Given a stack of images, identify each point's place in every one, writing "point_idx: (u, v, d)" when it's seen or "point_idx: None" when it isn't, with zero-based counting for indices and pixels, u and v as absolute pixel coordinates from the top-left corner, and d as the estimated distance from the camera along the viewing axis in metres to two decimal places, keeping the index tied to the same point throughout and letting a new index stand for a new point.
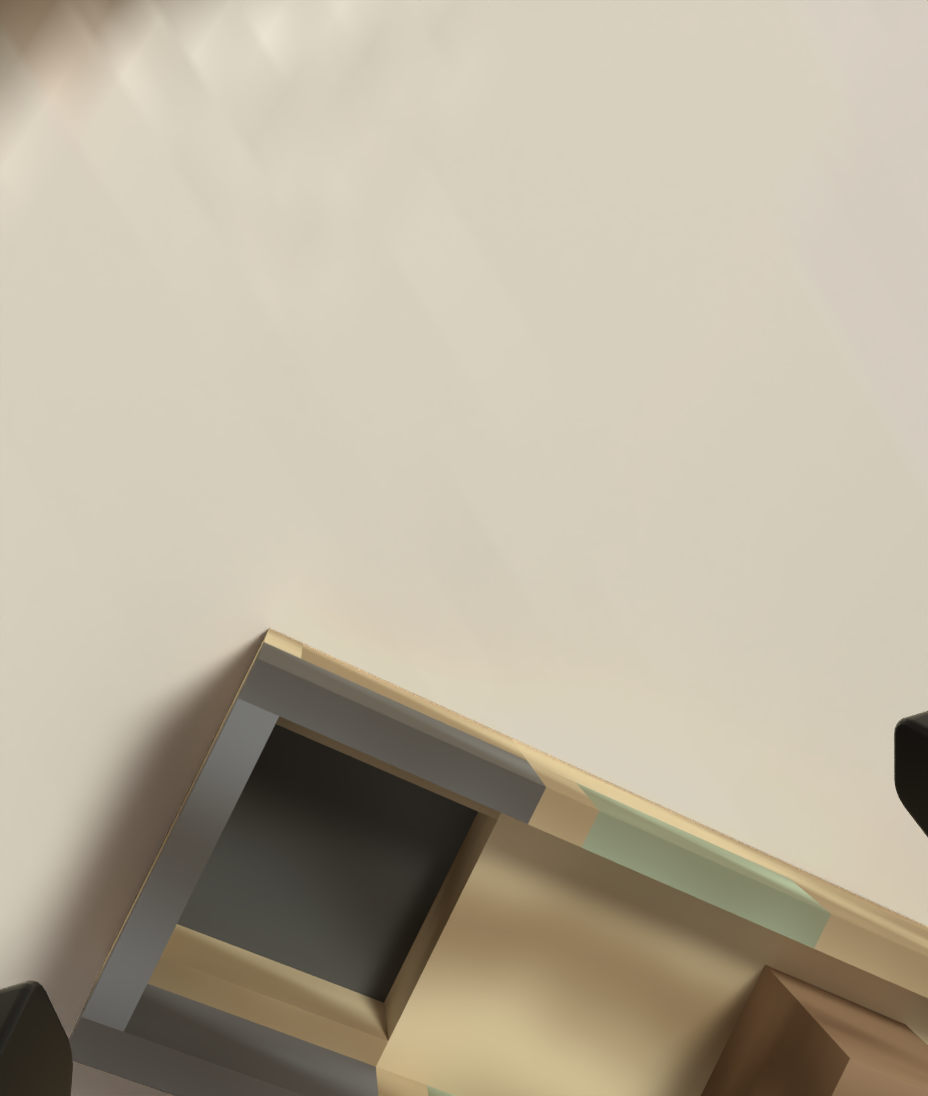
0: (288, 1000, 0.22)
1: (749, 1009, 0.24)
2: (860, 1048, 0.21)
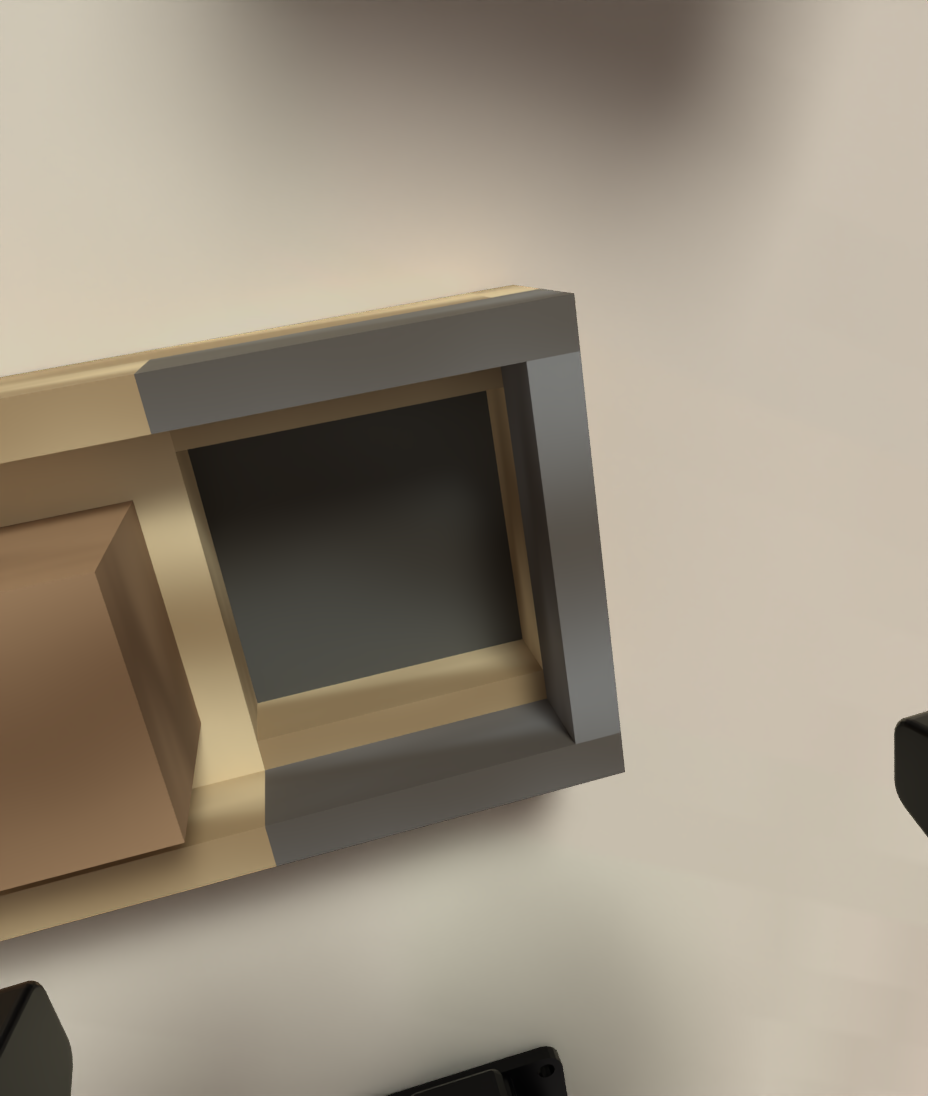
0: None
1: None
2: None
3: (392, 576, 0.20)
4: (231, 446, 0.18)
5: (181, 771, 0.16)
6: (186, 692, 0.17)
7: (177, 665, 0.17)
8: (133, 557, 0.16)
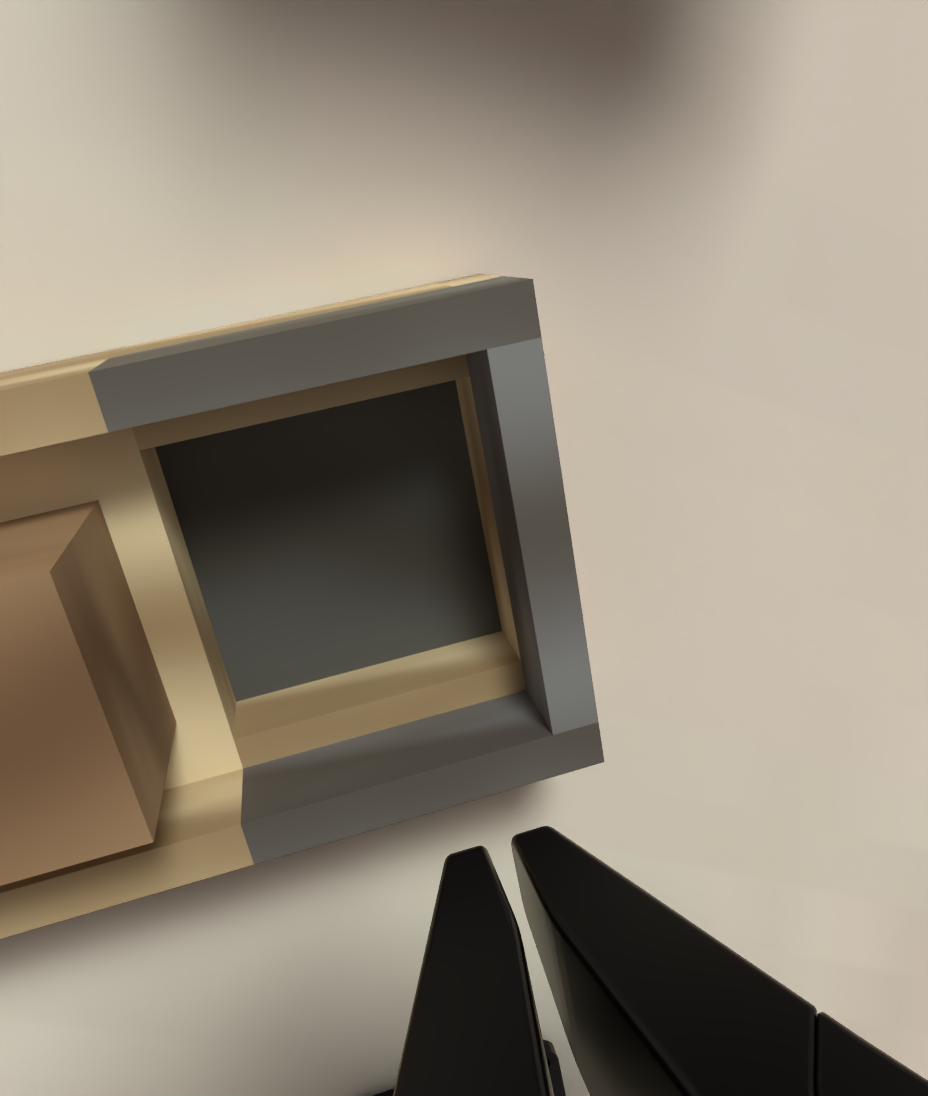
0: None
1: None
2: None
3: (367, 571, 0.20)
4: (199, 444, 0.18)
5: (151, 771, 0.15)
6: (159, 692, 0.17)
7: (149, 665, 0.17)
8: (97, 557, 0.15)
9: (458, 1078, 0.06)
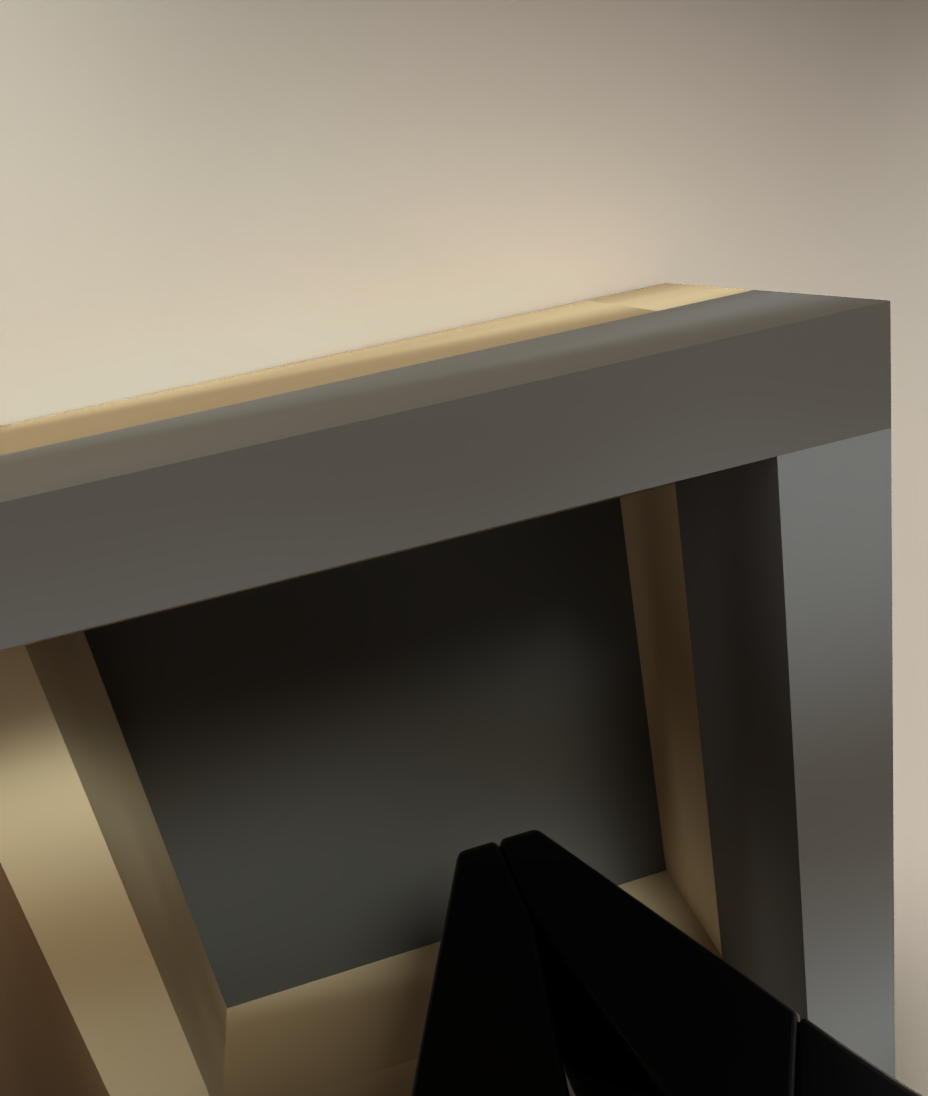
0: None
1: None
2: None
3: (452, 792, 0.12)
4: None
5: None
6: (77, 1084, 0.09)
7: (54, 1045, 0.09)
8: None
9: (476, 1072, 0.06)
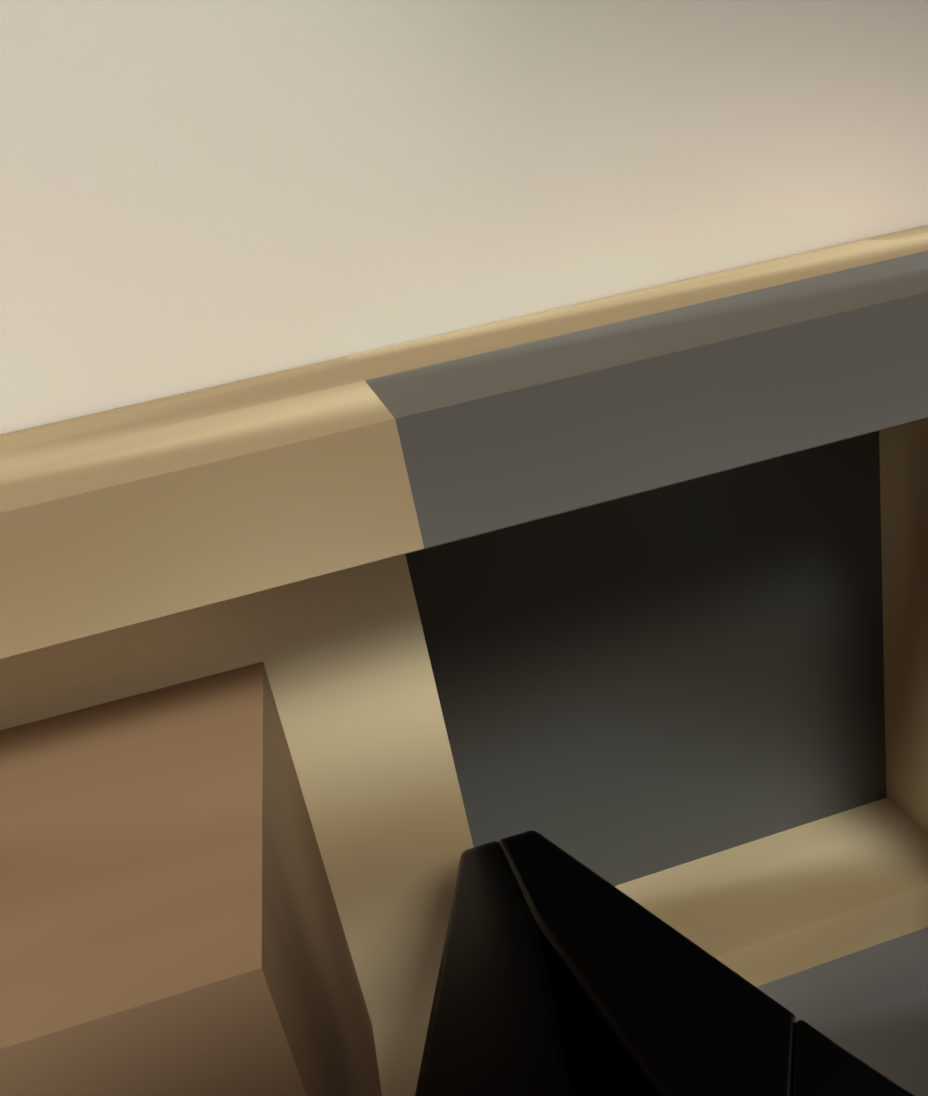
0: None
1: None
2: None
3: (703, 718, 0.12)
4: None
5: None
6: (357, 994, 0.10)
7: (344, 954, 0.09)
8: (284, 798, 0.08)
9: (481, 1071, 0.06)
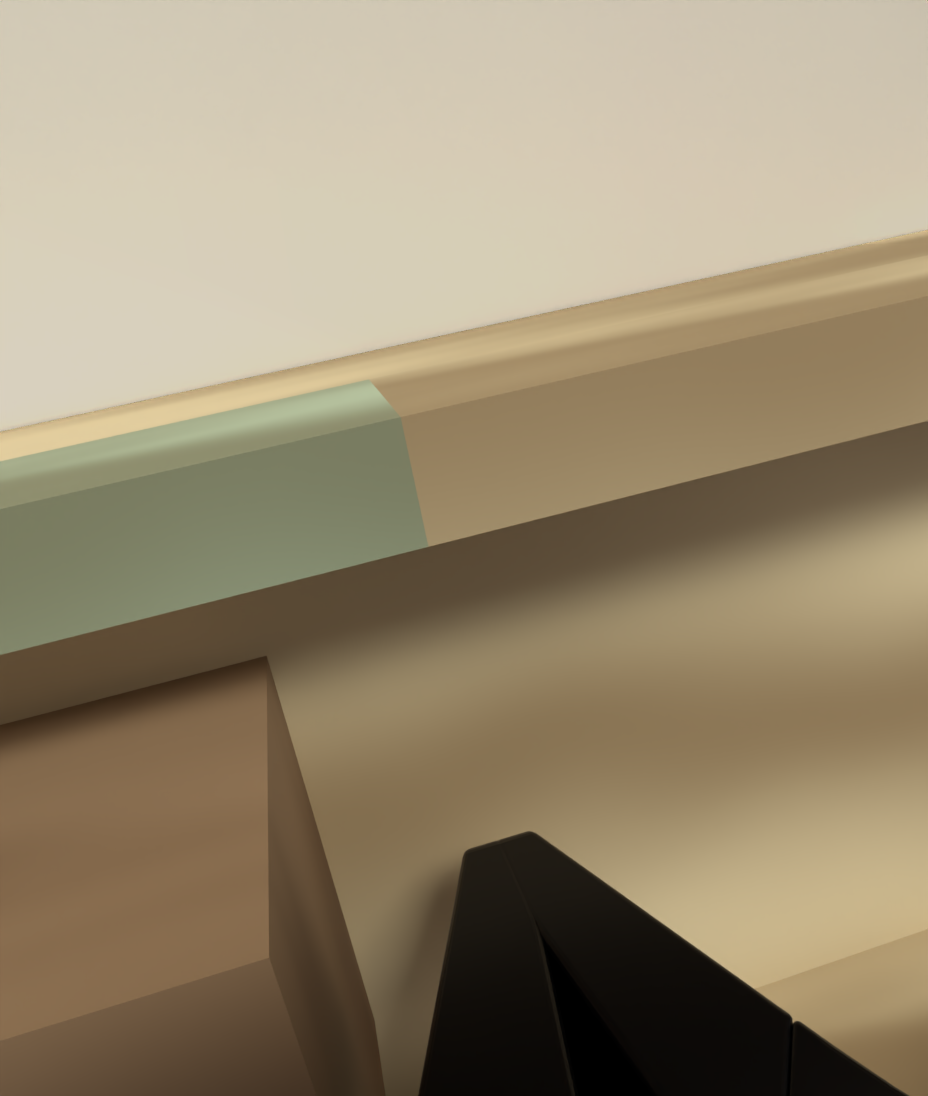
0: None
1: None
2: None
3: None
4: None
5: None
6: (360, 989, 0.10)
7: (348, 949, 0.09)
8: (288, 792, 0.08)
9: (485, 1070, 0.06)
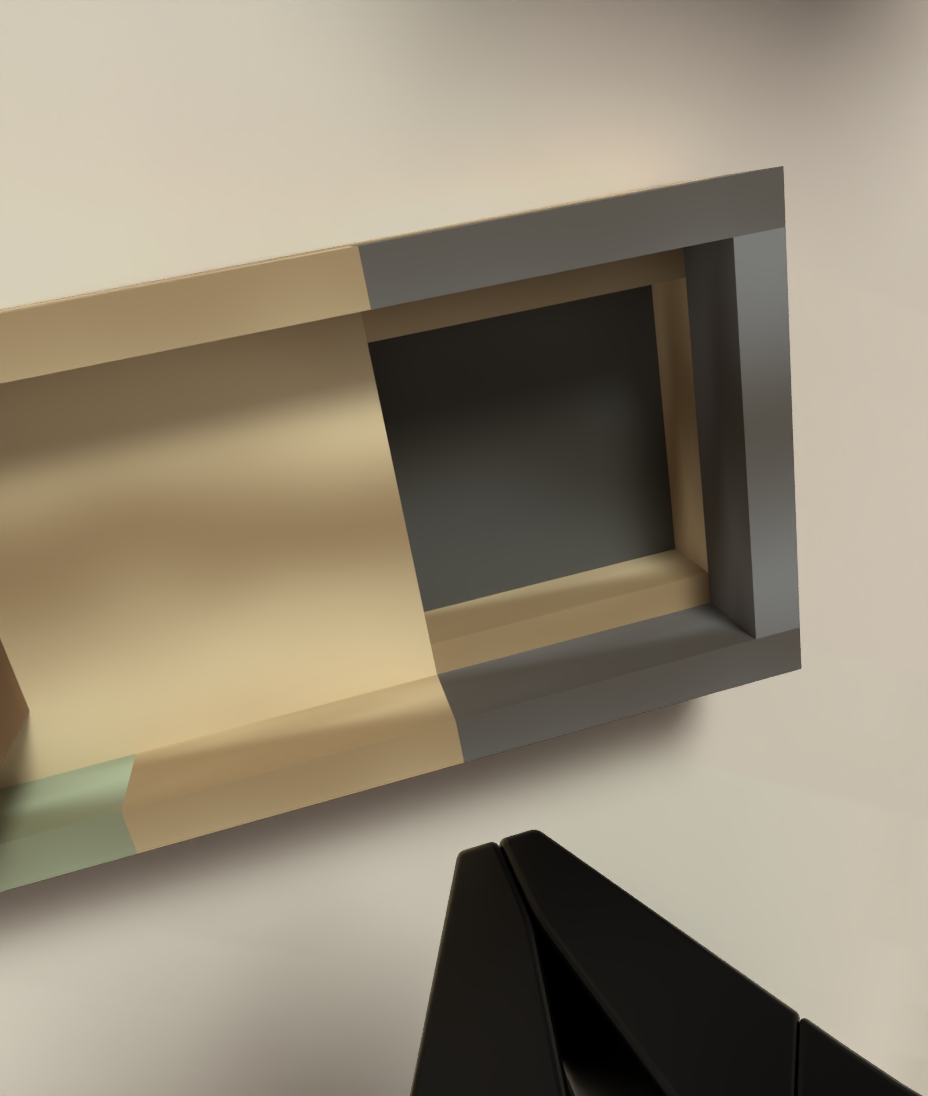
0: None
1: None
2: None
3: (553, 483, 0.20)
4: (404, 347, 0.18)
5: None
6: (4, 677, 0.16)
7: None
8: None
9: (476, 1072, 0.06)
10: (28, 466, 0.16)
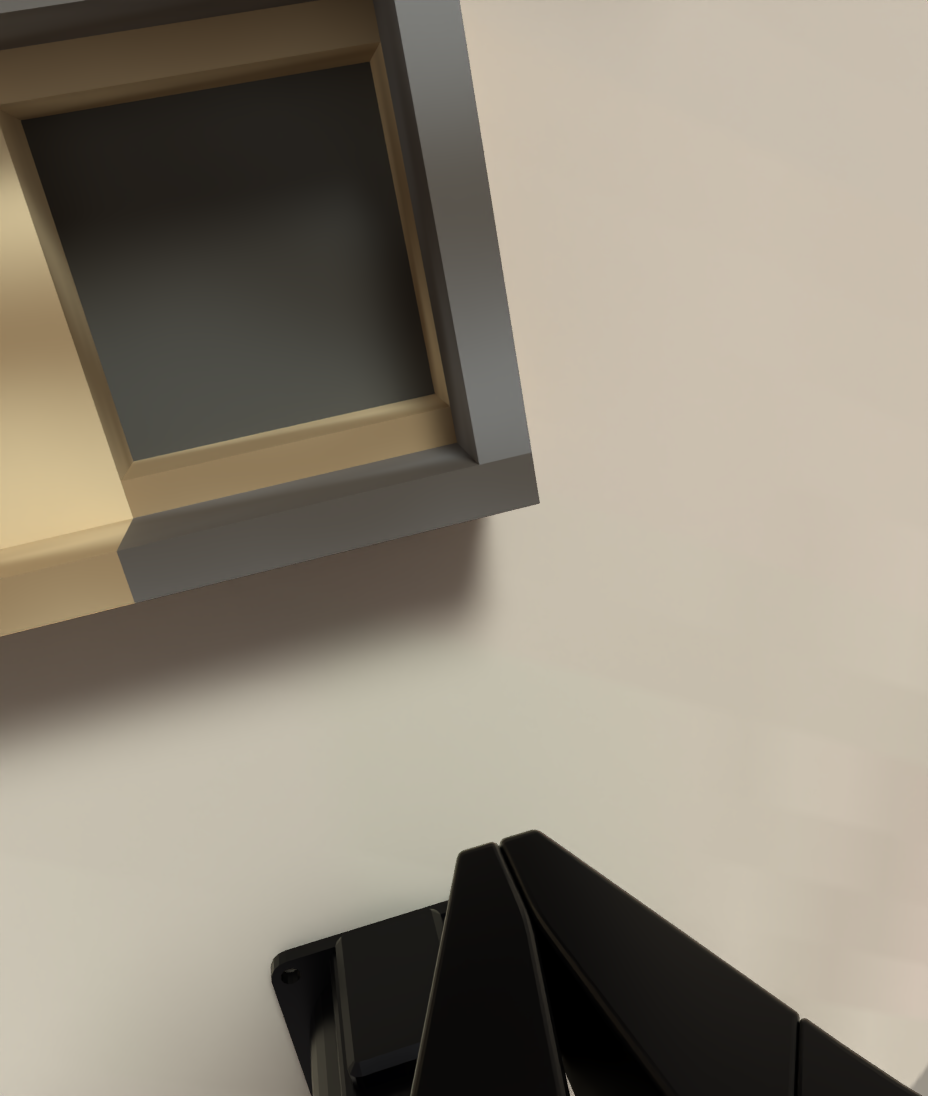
0: None
1: None
2: None
3: (279, 310, 0.18)
4: (78, 138, 0.16)
5: None
6: None
7: None
8: None
9: (476, 1072, 0.06)
10: None
